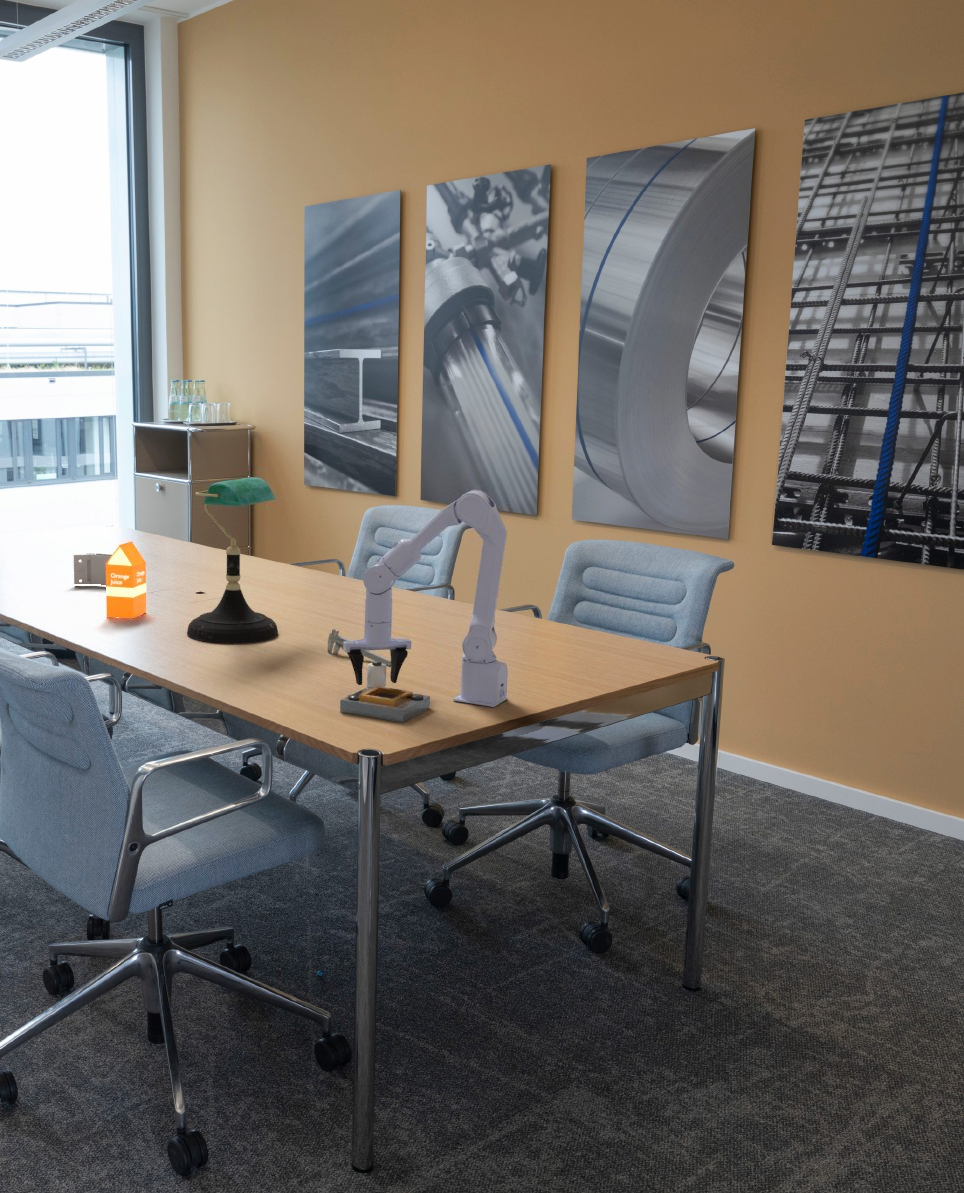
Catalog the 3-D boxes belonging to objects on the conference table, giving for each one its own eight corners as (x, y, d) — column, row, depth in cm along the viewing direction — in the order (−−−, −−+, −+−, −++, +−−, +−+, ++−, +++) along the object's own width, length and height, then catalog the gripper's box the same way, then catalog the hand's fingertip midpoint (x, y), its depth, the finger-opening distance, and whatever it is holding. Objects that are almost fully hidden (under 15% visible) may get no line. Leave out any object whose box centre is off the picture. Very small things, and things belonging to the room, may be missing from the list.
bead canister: (388, 691, 235) (389, 661, 233) (380, 695, 231) (380, 665, 230) (372, 688, 236) (373, 659, 235) (363, 692, 233) (364, 662, 231)
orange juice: (146, 613, 303) (146, 541, 299) (133, 619, 294) (132, 545, 291) (119, 611, 304) (118, 540, 300) (105, 617, 295) (104, 544, 292)
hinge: (73, 587, 336) (72, 555, 335) (78, 584, 342) (77, 552, 340) (119, 588, 338) (118, 556, 336) (123, 585, 343) (123, 554, 341)
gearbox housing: (429, 707, 223) (430, 691, 223) (402, 722, 212) (403, 705, 212) (369, 698, 229) (369, 681, 228) (340, 711, 218) (340, 695, 217)
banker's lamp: (254, 648, 268) (255, 485, 260) (167, 640, 272) (166, 479, 265) (293, 627, 293) (296, 478, 286) (213, 620, 298) (214, 473, 290)
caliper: (327, 653, 267) (327, 628, 266) (330, 653, 268) (330, 628, 267) (393, 668, 256) (394, 641, 255) (396, 667, 257) (396, 641, 256)
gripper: (404, 615, 237) (402, 676, 240) (339, 618, 232) (338, 680, 234) (415, 622, 231) (413, 684, 233) (348, 624, 225) (347, 688, 228)
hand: (376, 682), depth 233 cm, fingers open, 7 cm apart
